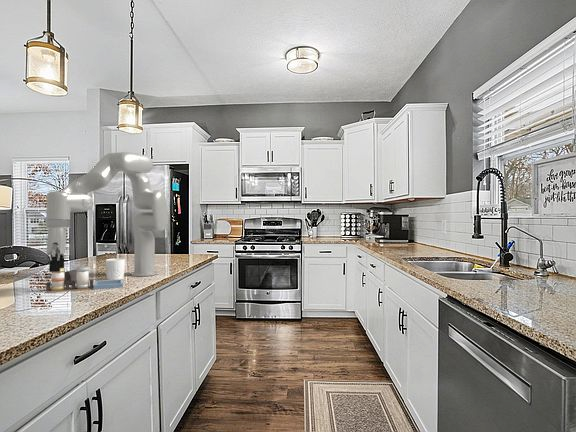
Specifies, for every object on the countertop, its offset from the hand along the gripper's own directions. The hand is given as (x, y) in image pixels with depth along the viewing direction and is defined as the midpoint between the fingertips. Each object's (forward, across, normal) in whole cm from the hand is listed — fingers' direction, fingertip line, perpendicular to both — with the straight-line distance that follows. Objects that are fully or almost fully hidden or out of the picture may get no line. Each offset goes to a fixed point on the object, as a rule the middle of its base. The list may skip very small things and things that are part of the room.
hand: (56, 269), depth 129 cm
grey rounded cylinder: (+7, 0, +8) cm, 11 cm away
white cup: (+9, -20, +19) cm, 29 cm away
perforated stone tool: (+9, -16, +4) cm, 19 cm away
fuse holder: (+9, 0, +4) cm, 10 cm away
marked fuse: (+7, 0, 0) cm, 8 cm away
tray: (+9, 0, +17) cm, 20 cm away
